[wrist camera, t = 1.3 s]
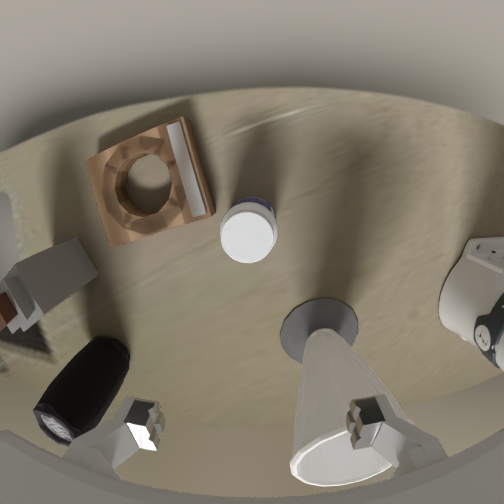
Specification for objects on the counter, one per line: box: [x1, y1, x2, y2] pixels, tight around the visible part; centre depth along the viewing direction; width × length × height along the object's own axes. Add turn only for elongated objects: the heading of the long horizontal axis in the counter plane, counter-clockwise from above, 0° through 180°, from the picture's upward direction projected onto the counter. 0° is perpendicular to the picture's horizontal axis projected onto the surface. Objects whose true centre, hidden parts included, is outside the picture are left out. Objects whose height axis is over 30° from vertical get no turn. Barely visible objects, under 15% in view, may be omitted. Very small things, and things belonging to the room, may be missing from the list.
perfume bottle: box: [0, 237, 99, 334], centre depth 28 cm, size 7×7×18 cm
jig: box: [86, 117, 216, 248], centre depth 32 cm, size 14×12×3 cm
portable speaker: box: [33, 337, 130, 447], centre depth 32 cm, size 9×9×20 cm
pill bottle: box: [220, 196, 278, 263], centre depth 29 cm, size 6×6×10 cm
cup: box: [280, 298, 414, 486], centre depth 27 cm, size 12×12×22 cm
